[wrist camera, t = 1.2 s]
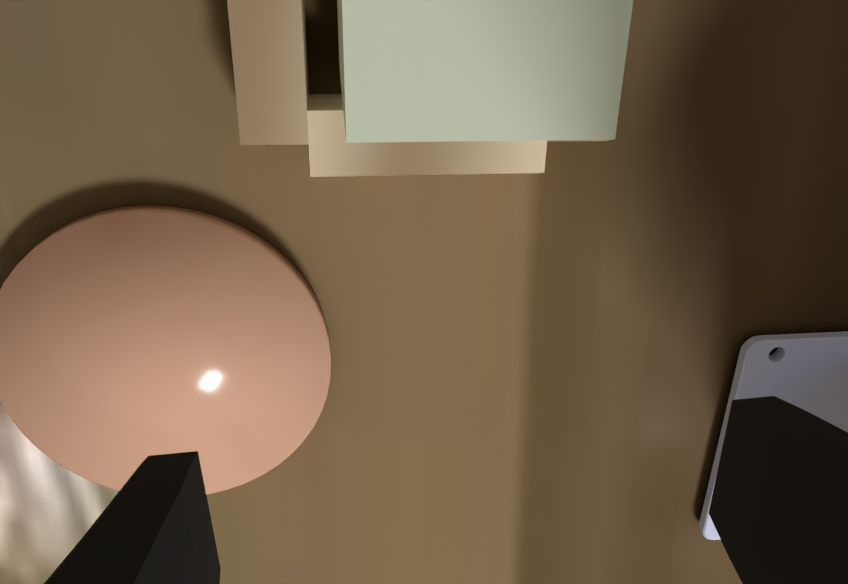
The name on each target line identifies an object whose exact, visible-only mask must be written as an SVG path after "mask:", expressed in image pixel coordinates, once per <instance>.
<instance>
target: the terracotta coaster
mask: <svg viewBox="0 0 848 584" xmlns="http://www.w3.org/2000/svg"><path fill="white" fill-rule="evenodd" d="M330 370H331V349H330V340H329V332H328V329H327V325H326V321H325V318H324V314H323V312H322V310H321V307H320V305H319V303H318V301H317V298H316V296H315V295H314V293H313V292H312V290H311V288H310V287H309V285H308V283H307V282H306V280H305V279H304V278H303V277H302V275H301V274H300V273H299V272H298V270H297V269H296V268H295V267H294V266H293V264H292V263H291V262H290V261H288V260H287V259H286V258H285V257H284V256H283V255H282V254H281V253H280V252H279V251H278V250H277V249H275V248H274V247H273V246H271V245H270V244H269V243H267V242H266V241H264V240H263V239H262V238H260V237H259V236H257V235H255V234H254V233H252V232H250V231H248V230H247V229H245V228H243V227H241V226H239V225H237V224H235V223H232V222H230V221H228V220H225V219H223V218H220V217H218V216H215V215H211V214H208V213H204V212H201V211H197V210H193V209H187V208H181V207H174V206H162V205H138V206H126V207H119V208H114V209H109V210H105V211H100V212H97V213H94V214H91V215H88V216H85V217H82V218H80V219H77V220H75V221H73V222H71V223H69V224H67V225H65V226H63V227H61V228H60V229H58V230H56V231H55V232H53V233H52V234H51V235H49V236H48V237H46V238H45V239H44V240H42V241H41V242H40V243H39V244H38V245H37V246H35V247H34V248H33V249H32V250H31V251H30V252H29V253H28V254H27V255H26V256H25V257H24V258H23V259H22V260H21V261H20V262H19V263H18V264H17V265H16V267H15V268H14V269H13V271H12V272H11V273H10V275H9V276H8V278H7V279H6V280H5V282H4V283H3V285H2V287H1V289H0V400H1V402H2V404H3V406H4V408H5V410H6V412H7V413H8V415H9V416H10V417H11V419H12V420H13V422H14V423H15V424H16V426H17V427H18V428H19V430H20V431H21V432H22V433H23V434H24V435H25V436H26V437H27V438H28V439H29V440H30V441H31V442H32V443H33V444H34V445H35V446H36V447H37V448H38V449H40V450H41V451H42V452H43V453H44V454H46V455H47V456H48V457H49V458H51V459H52V460H54V461H55V462H57V463H58V464H60V465H61V466H63V467H64V468H66V469H68V470H70V471H71V472H73V473H75V474H77V475H79V476H81V477H83V478H85V479H88V480H90V481H93V482H95V483H98V484H100V485H103V486H106V487H109V488H113V489H116V490H121V488H122V487H123V486H124V485H125V483H126V482H127V481H128V479H129V478H130V477H131V476H132V474H133V473H134V472H135V471H136V469H137V468H138V467H139V466H140V464H141V463H142V462H143V461H144V460H145V459H146V458H147V457H148V456H151V455H162V454H172V453H183V452H193V451H198V455H199V460H200V465H201V470H202V476H203V481H204V486H205V491H206V494H211V493H215V492H220V491H224V490H227V489H230V488H233V487H236V486H239V485H242V484H245V483H247V482H249V481H251V480H253V479H255V478H257V477H260V476H261V475H263V474H265V473H266V472H268V471H270V470H271V469H273V468H274V467H276V466H277V465H279V464H280V463H281V462H282V461H284V460H285V459H286V458H287V457H289V456H290V455H291V454H292V453H293V452H294V451H295V450H296V449H297V448H298V447H299V446H300V445H301V443H302V442H303V441H304V440H305V438H306V437H307V436H308V434H309V433H310V431H311V430H312V429H313V427H314V425H315V423H316V421H317V420H318V418H319V416H320V414H321V412H322V409H323V406H324V403H325V400H326V397H327V393H328V388H329V383H330Z"/></svg>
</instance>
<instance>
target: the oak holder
mask: <svg viewBox="0 0 848 584" xmlns="http://www.w3.org/2000/svg"><path fill="white" fill-rule="evenodd" d="M227 5H228V16H229V27H230V37H231V48H232V59H233V70H234V80H235V91H236V102H237V113H238V124H239V134H240V145H302V144H309V159H310V177H330V176H388V175H446V174H504V173H544V169H545V158H546V147H547V142H549V141H609V140H537V141H453V142H368V143H346V135H345V124H344V113H343V102H342V94H309V82H308V62H307V42H306V22H305V2H304V0H227Z"/></svg>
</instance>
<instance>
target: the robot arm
mask: <svg viewBox="0 0 848 584" xmlns="http://www.w3.org/2000/svg"><path fill="white" fill-rule="evenodd" d="M777 347H778V348H777ZM774 348H777V350H776V352H774V353H773V354H772V355H769V353H770V351H771V350H773V349H774ZM699 529H700V530H701V532H702V533H703V535H704V537H705V538H707V539H709V540H721V541H722V543H723V545H724V547H725V550H726V552H727V554H728V556H729V558H730V560H731V562H732V563H733V565H734V567H735V569H736V571H737V573H738V575H739V577H740V579H741V581H742V583H743V584H848V331H845V332H822V333H800V334H778V335H758V336H754V337H751V338H750V339H748V340H747V341H746V342H745V343H744V344H743V345H742V347H741V349H740V353H739V357H738V361H737V366H736V370H735V374H734V378H733V382H732V387H731V391H730V395H729V399H728V404H727V408H726V412H725V416H724V421H723V425H722V429H721V433H720V437H719V442H718V446H717V450H716V454H715V459H714V463H713V467H712V471H711V475H710V480H709V484H708V488H707V492H706V497H705V501H704V505H703V509H702V514H701V518H700V522H699ZM219 582H220V564H219V559H218V554H217V548H216V543H215V538H214V533H213V528H212V522H211V517H210V512H209V507H208V502H207V496H206V491H205V486H204V481H203V476H202V470H201V465H200V460H199V455H198V451H193V452H183V453H172V454H162V455H151V456H148V457H147V458H146V459H145V460H144V461H143V462H142V463H141V464H140V466H139V467H138V468H137V469H136V471H135V472H134V473H133V474H132V476H131V477H130V478H129V479H128V481H127V482H126V483H125V485H124V486H123V487H122V488H121V490H120V491H119V492H118V494H117V495H116V496H115V497H114V499H113V500H112V501H111V502H110V504H109V505H108V506H107V508H106V509H105V510H104V511H103V513H102V514H101V515H100V516H99V518H98V519H97V520H96V521H95V523H94V524H93V525H92V526H91V528H90V529H89V530H88V531H87V533H86V534H85V535H84V536H83V538H82V539H81V540H80V541H79V543H78V544H77V545H76V546H75V547H74V549H73V550H72V551H71V552H70V553H69V554H68V556H67V557H66V558H65V559H64V560H63V562H62V563H61V564H60V565H59V566H58V568H57V569H56V570H55V571H54V572H53V574H52V575H51V576H50V577H49V578H48V580H47V581H46V582H45V583H44V584H219Z"/></svg>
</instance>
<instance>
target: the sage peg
mask: <svg viewBox="0 0 848 584" xmlns="http://www.w3.org/2000/svg"><path fill="white" fill-rule="evenodd" d="M632 6H633V0H337V19H338V50H339V69H340V80H341V91H342V102H343V113H344V124H345V135H346V143H368V142H453V141H537V140H615V135H616V128H617V120H618V113H619V105H620V97H621V90H622V82H623V75H624V67H625V60H626V52H627V44H628V37H629V29H630V22H631V14H632Z"/></svg>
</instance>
